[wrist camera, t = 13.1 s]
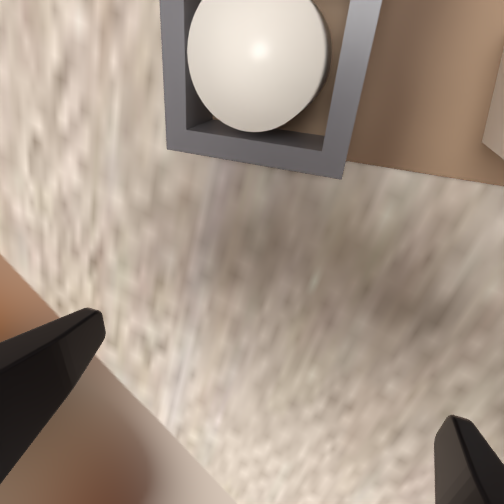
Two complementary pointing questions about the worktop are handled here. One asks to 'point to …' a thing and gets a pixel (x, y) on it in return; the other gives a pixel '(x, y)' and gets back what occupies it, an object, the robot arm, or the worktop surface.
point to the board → (420, 87)
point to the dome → (258, 59)
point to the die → (496, 116)
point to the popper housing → (276, 140)
